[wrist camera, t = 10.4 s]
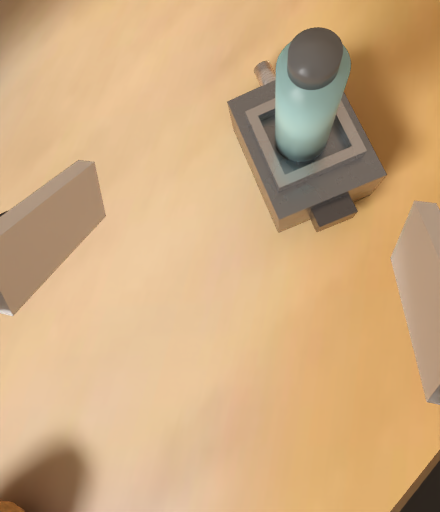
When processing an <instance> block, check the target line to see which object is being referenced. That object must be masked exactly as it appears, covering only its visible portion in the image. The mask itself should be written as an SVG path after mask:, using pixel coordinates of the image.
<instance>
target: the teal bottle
mask: <svg viewBox="0 0 440 512" xmlns="http://www.w3.org/2000/svg"><path fill="white" fill-rule="evenodd" d="M350 69H351V60H350V56H349V53H348V51H347V50H346V48H345V47H344V46H343V44H342V42H341V40H340V38H339V37H338V36H337V35H336V34H335V33H334V32H332V31H331V30H329V29H326V28H319V27H317V28H310V29H307V30H304V31H302V32H301V33H299V34H298V35H297V36H296V37H295V38H294V39H293V40H292V42H290V43H289V44H288V45H287V46H286V47H285V48H284V49H283V50H282V52H281V53H280V55H279V57H278V60H277V63H276V88H275V143H276V147H277V149H278V151H279V152H280V153H281V154H282V155H283V156H284V157H286V158H287V159H289V160H292V161H297V162H303V161H308V160H311V159H313V158H315V157H317V156H318V155H319V154H320V153H321V152H322V151H323V150H324V148H325V146H326V144H327V141H328V138H329V135H330V132H331V129H332V125H333V122H334V119H335V116H336V113H337V110H338V107H339V104H340V101H341V98H342V95H343V92H344V89H345V86H346V83H347V80H348V77H349V74H350Z"/></svg>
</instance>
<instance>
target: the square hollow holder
mask: <svg viewBox="0 0 440 512" xmlns="http://www.w3.org/2000/svg"><path fill="white" fill-rule="evenodd" d="M254 73H255V75H256V77H257V79H258V82H259V84H260V86H261V87H258V88H256V89H254V90H252V91H250V92H247V93H245V94H243V95H241V96H239V97H236V98H234V99H232V100H230V101H228V102H227V103H228V107H229V112H230V116H231V120H232V124H233V129H234V132H235V134H236V136H237V139H238V141H239V143H240V145H241V148H242V150H243V152H244V155H245V157H246V159H247V162H248V164H249V166H250V168H251V171H252V173H253V175H254V178H255V180H256V182H257V185H258V187H259V189H260V192H261V194H262V196H263V198H264V201H265V203H266V205H267V208H268V210H269V212H270V215H271V217H272V219H273V221H274V224H275V226H276V228H277V231H278V233H279V232H281V231H284V230H286V229H289V228H291V227H294V226H296V225H298V224H301V223H303V222H306V221H308V220H310V219H311V221H312V223H313V225H314V228H315V230H316V232H319V231H321V230H324V229H326V228H329V227H331V226H334V225H336V224H338V223H341V222H343V221H346V220H348V219H351V218H353V217H354V215H355V214H356V213H357V212H358V211H357V209H356V207H355V205H354V203H353V202H354V201H357V200H359V199H361V198H364V197H366V196H369V195H370V194H371V193H372V192H373V191H374V190H375V189H376V187H377V186H378V185H379V184H380V183H381V181H382V180H383V179H384V178H385V177H386V175H387V174H386V172H385V170H384V168H383V166H382V164H381V163H380V161H379V159H378V157H377V155H376V153H375V151H374V149H373V147H372V145H371V143H370V141H369V139H368V138H367V136H366V134H365V132H364V130H363V128H362V126H361V124H360V122H359V120H358V118H357V116H356V114H355V112H354V111H353V109H352V107H351V105H350V103H349V101H348V99H347V97H346V95H345V93H344V92H343V95H342V98H341V101H340V104H339V107H338V110H337V113H336V116H335V119H334V122H333V125H332V129H331V132H330V135H329V138H328V141H327V144H326V146H325V148H324V150H323V151H322V152H321V153H320V154H319V155H318V156H317V157H315V158H313V159H311V160H308V161H303V162H297V161H292V160H289V159H287V158H286V157H284V156H283V155H282V154H281V153H280V152H279V151H278V149H277V147H276V143H275V88H276V74H275V72H274V70H273V68H272V66H271V64H270V62H269V61H263V62H261V63H259V64H258V65H257V66H256V67H255V69H254Z"/></svg>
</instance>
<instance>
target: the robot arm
mask: <svg viewBox="0 0 440 512" xmlns="http://www.w3.org/2000/svg"><path fill="white" fill-rule="evenodd" d="M105 216H106V214H105V210H104V205H103V200H102V196H101V191H100V186H99V181H98V177H97V172H96V167H95V162H90V161H82V160H78V161H77V162H75V163H74V164H72V165H71V166H70V167H68V168H67V169H66V170H64V171H63V172H61V173H60V174H59V175H57V176H56V177H54V178H53V179H52V180H50V181H49V182H48V183H46V184H45V185H43V186H42V187H41V188H39V189H38V190H37V191H35V192H34V193H32V194H31V195H30V196H28V197H27V198H26V199H24V200H23V201H21V202H20V203H19V204H17V205H16V206H15V207H13V208H12V209H10V210H9V211H6V212H4V213H2V214H0V313H2V314H6V315H11V316H13V315H14V314H15V313H16V312H17V311H18V310H19V309H20V308H21V307H22V306H23V305H24V304H25V303H26V301H27V300H28V299H29V298H30V297H31V296H32V295H33V294H34V293H35V292H36V291H37V290H38V289H39V287H40V286H41V285H42V284H43V283H44V282H45V281H46V280H47V279H48V278H49V277H50V276H51V275H52V273H53V272H54V271H55V270H56V269H57V268H58V267H59V266H60V265H61V264H62V263H63V262H64V261H65V259H66V258H67V257H68V256H69V255H70V254H71V253H72V252H73V251H74V250H75V249H76V248H77V247H78V245H79V244H80V243H81V242H82V241H83V240H84V239H85V238H86V237H87V236H88V235H89V234H90V233H91V231H92V230H93V229H94V228H95V227H96V226H97V225H98V224H99V223H100V222H101V221H102V220H103V219H104V217H105ZM391 262H392V266H393V270H394V274H395V278H396V282H397V286H398V290H399V294H400V298H401V302H402V306H403V309H404V313H405V317H406V321H407V325H408V329H409V333H410V337H411V341H412V345H413V349H414V353H415V357H416V361H417V365H418V369H419V373H420V377H421V381H422V385H423V389H424V393H425V397H426V401H427V402H429V403H434V404H439V405H440V210H439V208H438V206H437V204H436V203H429V202H421V201H414V203H413V205H412V207H411V210H410V212H409V215H408V217H407V220H406V222H405V224H404V227H403V229H402V232H401V234H400V236H399V239H398V241H397V244H396V246H395V249H394V251H393V253H392V256H391ZM391 512H440V450H439V451H438V453H437V454H436V455H435V456H434V458H433V459H432V460H431V462H430V463H429V464H428V465H427V467H426V468H425V469H424V470H423V472H422V473H421V474H420V475H419V477H418V478H417V479H416V480H415V482H414V483H413V484H412V485H411V487H410V488H409V489H408V490H407V492H406V493H405V494H404V495H403V497H402V498H401V499H400V500H399V502H398V503H397V504H396V505H395V507H394V508H393V509H392V510H391Z"/></svg>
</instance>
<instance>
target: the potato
mask: <svg viewBox="0 0 440 512" xmlns="http://www.w3.org/2000/svg"><path fill="white" fill-rule="evenodd" d="M0 512H25V511H24V510H23V509H22V508H20V507H19V506H17V505H16V504H15V503H13V502H8V501H0Z"/></svg>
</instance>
